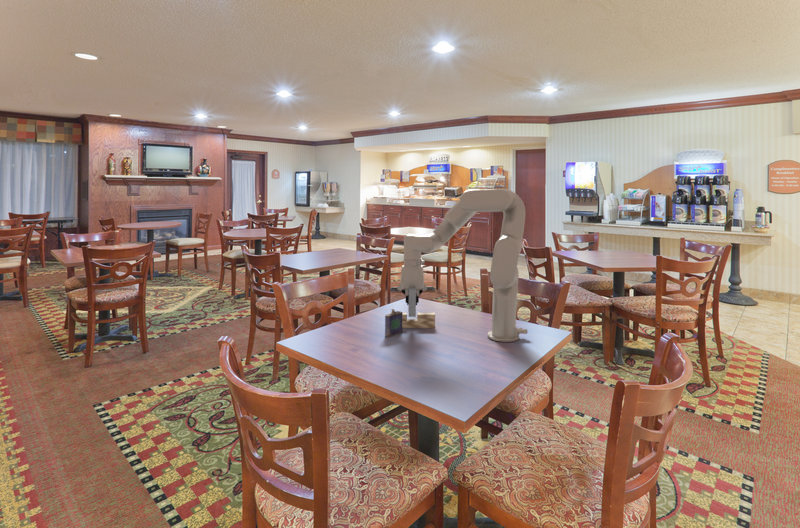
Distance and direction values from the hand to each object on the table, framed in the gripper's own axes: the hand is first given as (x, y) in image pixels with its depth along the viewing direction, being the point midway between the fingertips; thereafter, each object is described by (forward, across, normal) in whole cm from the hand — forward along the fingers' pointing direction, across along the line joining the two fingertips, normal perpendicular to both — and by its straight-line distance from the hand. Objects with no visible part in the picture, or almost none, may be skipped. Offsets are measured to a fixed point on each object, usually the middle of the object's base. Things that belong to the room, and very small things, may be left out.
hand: (412, 303), depth 194 cm
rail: (+10, 0, 0) cm, 10 cm away
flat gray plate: (+4, 0, 0) cm, 4 cm away
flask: (+11, +8, +10) cm, 17 cm away
